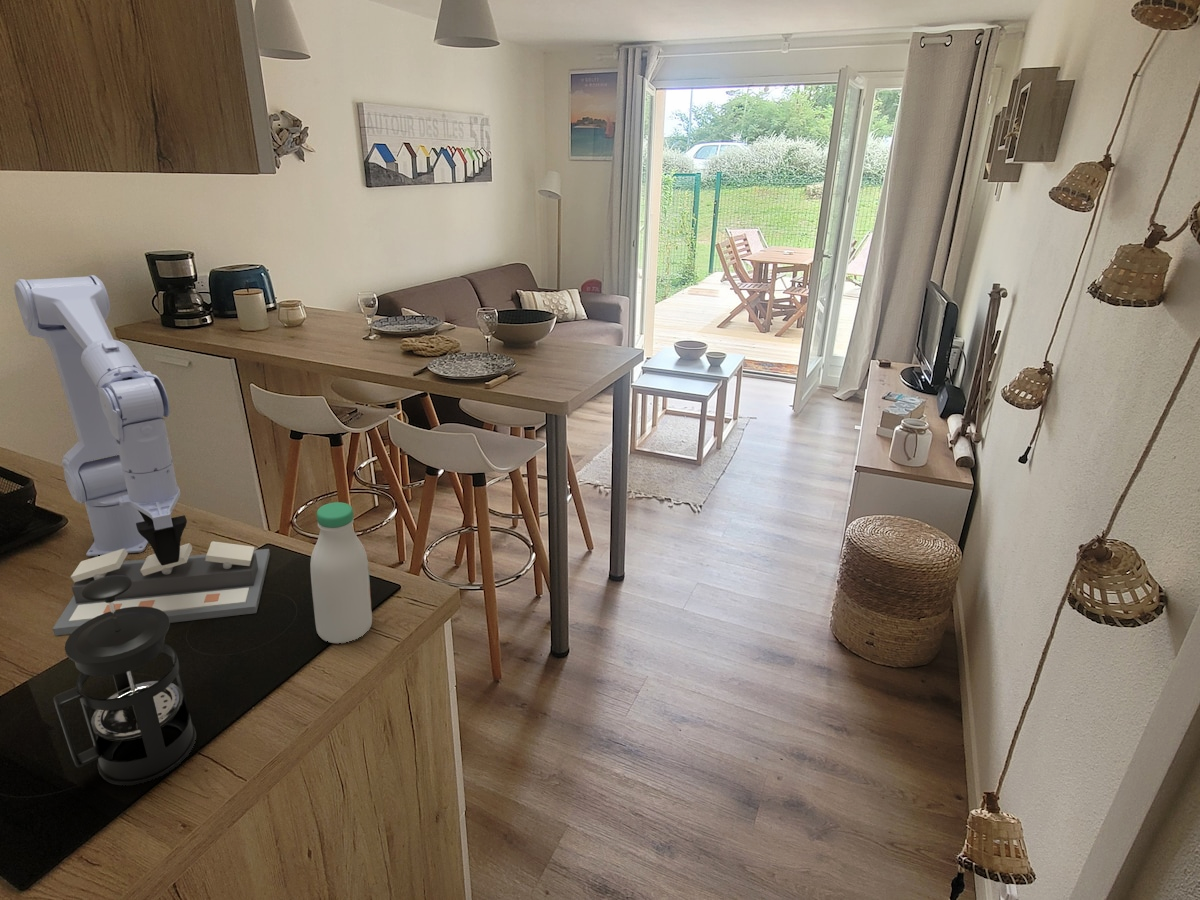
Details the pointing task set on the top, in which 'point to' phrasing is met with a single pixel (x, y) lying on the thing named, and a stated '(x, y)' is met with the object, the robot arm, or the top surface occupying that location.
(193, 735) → the french press
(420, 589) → the top surface
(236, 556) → the switch far
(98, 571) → the switch near
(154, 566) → the switch middle
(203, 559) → the switch panel
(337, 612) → the milk bottle
